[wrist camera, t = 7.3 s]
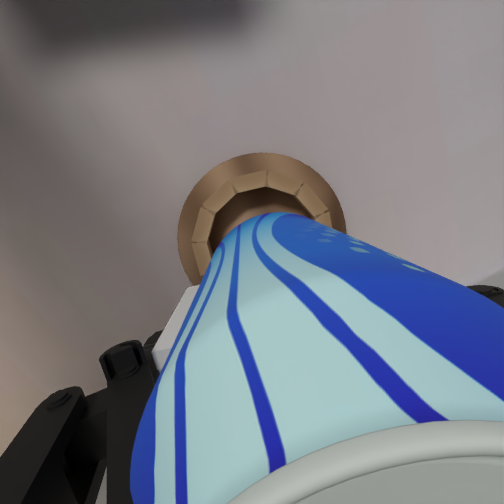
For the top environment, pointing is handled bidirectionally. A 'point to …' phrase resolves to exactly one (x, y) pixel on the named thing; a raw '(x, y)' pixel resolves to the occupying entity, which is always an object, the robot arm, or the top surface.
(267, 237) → the beer can
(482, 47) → the top surface
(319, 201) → the round brown bowl
